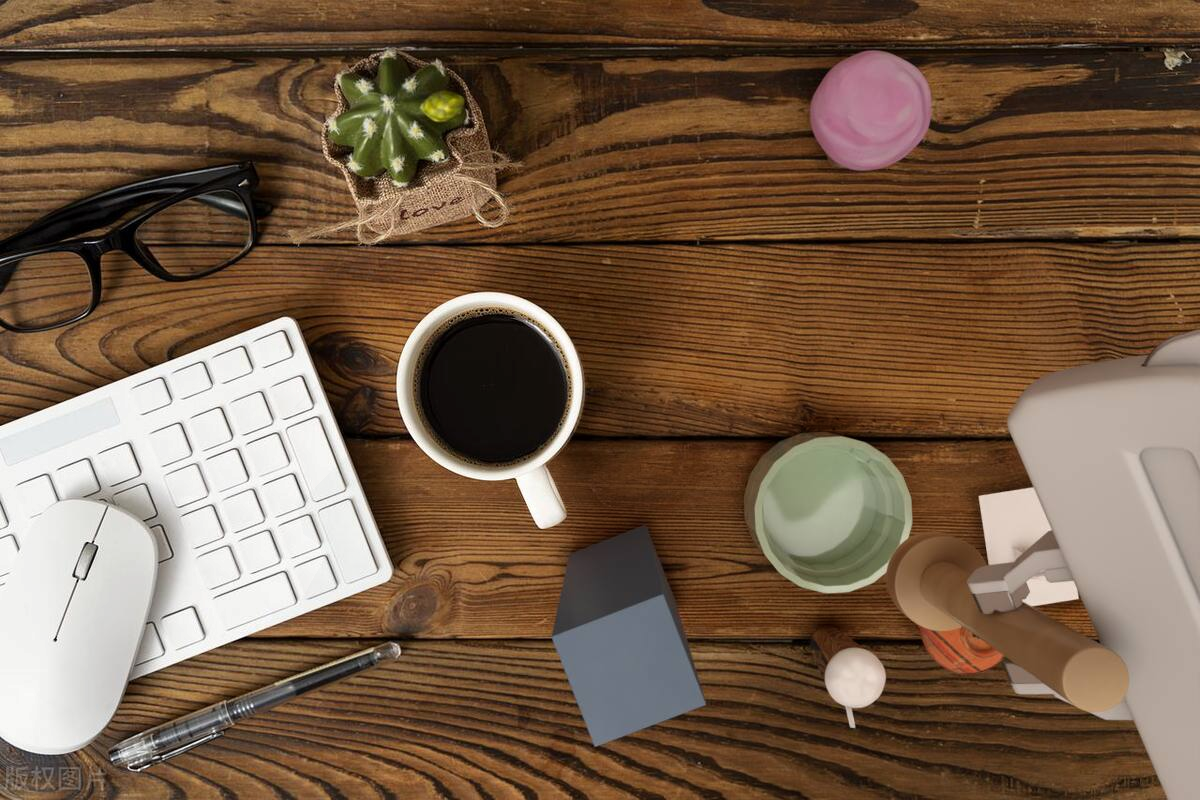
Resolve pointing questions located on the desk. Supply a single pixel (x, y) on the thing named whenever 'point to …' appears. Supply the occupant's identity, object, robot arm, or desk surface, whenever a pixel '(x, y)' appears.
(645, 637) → the stand
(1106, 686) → the wooden pestle
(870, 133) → the cupcake
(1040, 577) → the adhesive hook
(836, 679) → the milkshake
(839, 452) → the bowl
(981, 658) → the pot
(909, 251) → the desk surface
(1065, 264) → the desk surface
